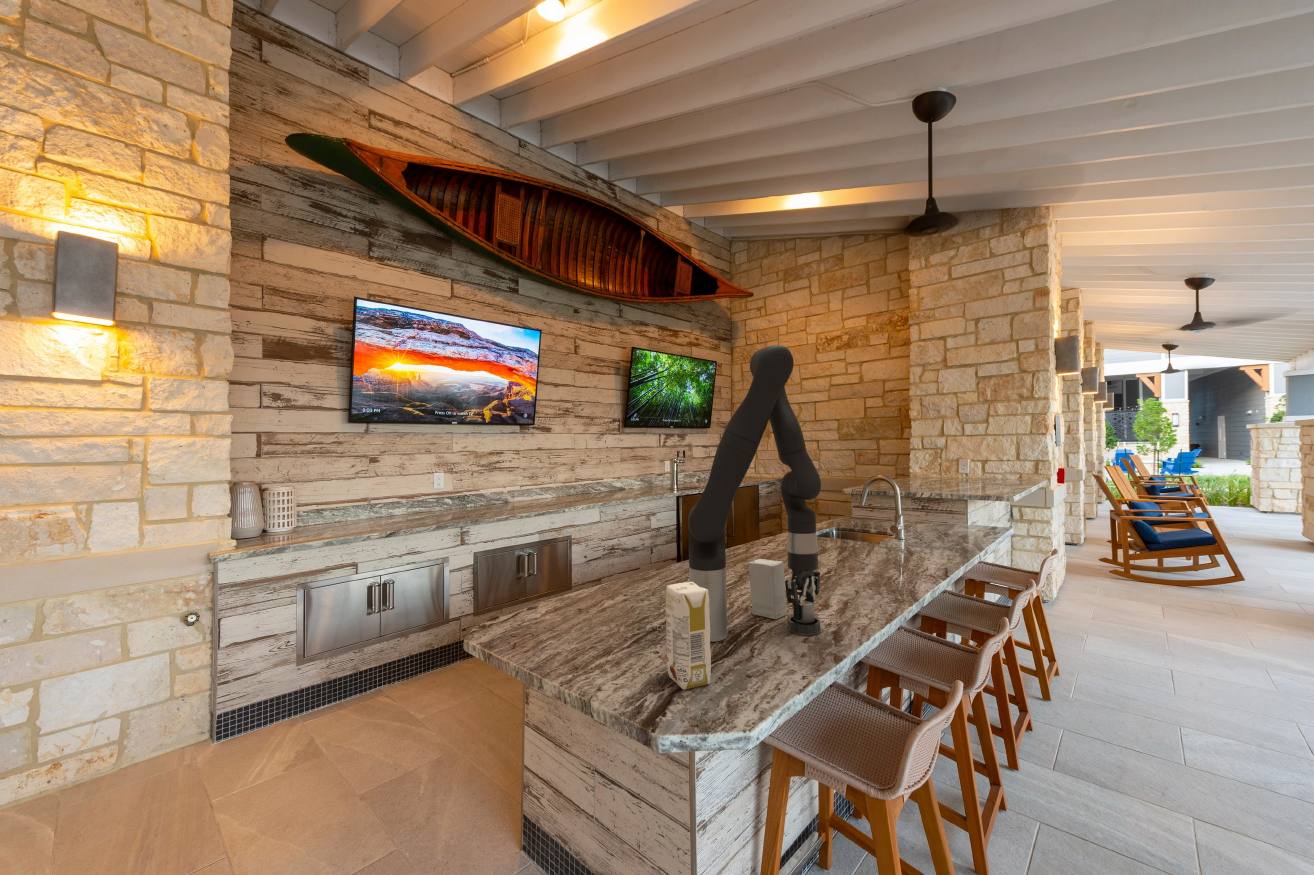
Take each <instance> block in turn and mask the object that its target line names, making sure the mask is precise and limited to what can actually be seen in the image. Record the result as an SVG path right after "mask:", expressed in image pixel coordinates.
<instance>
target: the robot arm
mask: <svg viewBox="0 0 1314 875" xmlns="http://www.w3.org/2000/svg"><path fill="white" fill-rule="evenodd" d="M794 364H795V362H794V357H793V354H792V352H791V351H790V350H789V349H788V348H787V347H786V346H784V345H779V344H773V345H769V346H766V347H762V348H759V349H758V350H757V351H755V352H754V353H753V354H752V356H751V358H750V360H749V369H750V373H751V376H752V381H751V384H750V387H749V389H748V391H747V394H746V396H745V397H744V398H743V401H742V402H741V403H740V405H739V406H738V407H737V409H736V410H735V412H734V413H733V414H732V416H731V417H730V419H729V421H728V423H727V425H725V426H726V427H725V428H724V431H723V434H722V436H721V437H720V440H719V442H718V446H717V448H716V450H715V454H714V457H713V461H712V464H711V467H710V468H711V470H710V472H709V473H710V474H709V477H708V481H707V482H706V484H705V487H704V489H703V492H702V493H701V495H700V497H699V499H698V501H697V503H696V504H695V505H694V506H693V507H692V508H691V509H690V511H689V512H688V513H689V514H688V517H687V525H688V526H687V527H688V529H687V530H688V566H689V569H688V572H689V574H688V576H689V582H694V583H695V584H697V585H698V586H699V587H702V588H705V589H708V594H709V605H710V643H711V642H712V643H714V642H719V641H724V640H725V639H727V638H728V602H727V601H728V599H727V598H728V595H727V594H728V591H727V555H726V539H725V538H726V536H725V535H726V532H725V530H726V529H725V528H726V525H727V521H728V518H729V515H730V511H731V508H732V504H733V501H734V499H735V496H736V494H737V491H738V490H739V487H740V486H741V484H742V482H743V480H744V479H745V477H746V474H747V472H748V471H749V468H750V467H751V464H752V462H753V460H754V458H755V456H756V454H757V451H758V449H759V446H760V444H761V440H762V438H763V435H764V433H765V431H766V428H767V425H768V423H770V426H771V430H772V434H773V437H774V443H775V446H776V450H777V453H778V454H777V455H778V457H779V460H780V462H781V464H783V465H784V466H787V467H789V469H790V471H787V472H786V473H785V474H784V475H783V477H782V479H781V483H780V491H781V496H782V501H783V505H784V508H785V511H786V514H787V535H786V536H787V538H786V550H787V551H786V555H787V558H786V559H787V567H788V569H790V570H791V571H792V573H791V579H786V580H785V592H786V602H787V603H789V604H792V610H793V611H792V613H793V615H792V616H793V617H794V619H797V620H802V619H803V607H802V602H803V601H810V602H813V603H814V604H815V599H816V596H819V594H820V583H821V582H820V581H821V572H820V571H818V569H819V550H818V548H819V547H818V535H817V518H816V517H817V516H816V512H815V511H814V510H813V509H812V508H810V507H808V505H807V502H806V500H807V501H810V500H812V501H813V500H815V499H816V498H817V497H818V496H819V495H820V493H821V489H822V481H821V477H820V475H819V472H818V469H817V468H816V466H815V464H814V462H813V460H812V459H811V457H810V455H809V453H808V451H807V450H808V449H807V445H806V441H805V438H804V434H803V431H802V428H801V425H800V422H799V421H798V418H797V416H796V415H795V413H794V409H793V408H792V406H791V404H790V401H789V399H788V395H787V392H786V387H785V386H786V384H787V382H788V380H789V379H790V377H791V375H792V372H793V370H794V366H795V365H794ZM804 597H805V598H804Z"/></svg>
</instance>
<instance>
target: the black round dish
mask: <svg viewBox="0 0 1314 875" xmlns="http://www.w3.org/2000/svg"><path fill="white" fill-rule="evenodd" d="M787 629H788V632H790V633H791V634H793V635H797V636H801V637H802V636H803V637H814V636H818V635H820V633H821V620H820V619H819V617H818V618H817V617H816V616H815V621H814V622H811V623H802V622H797V621H795V620H794V617H793V615H791V616H789V617H788V619H787Z"/></svg>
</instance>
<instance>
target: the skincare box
mask: <svg viewBox="0 0 1314 875" xmlns="http://www.w3.org/2000/svg"><path fill="white" fill-rule="evenodd" d="M748 570H749V574H748V575H749V585H750V586H749V587H750V598H751V600H750V601H751V614H752V615H756V616H760V617H765V618H769V619H773V620H778V619H780V618H783V617H786V616H787V615H788V609H787V594H786V587H785V567H784V561H782V560H772V559H771V560H770V559H764V558H758V559H755V560H752V561H749V562H748Z"/></svg>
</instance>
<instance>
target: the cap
mask: <svg viewBox="0 0 1314 875" xmlns="http://www.w3.org/2000/svg"><path fill="white" fill-rule="evenodd" d="M815 604H816V603H815V602H814V603H813V602H810V601H805V600H803V602H802V607H803V619H802V620H797V619H794V620H795V621H797V622H802V623H811V622H814V621H815V617H816V615H815V614H816V612H815V611H816V609H815V608H816V607H815Z"/></svg>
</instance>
